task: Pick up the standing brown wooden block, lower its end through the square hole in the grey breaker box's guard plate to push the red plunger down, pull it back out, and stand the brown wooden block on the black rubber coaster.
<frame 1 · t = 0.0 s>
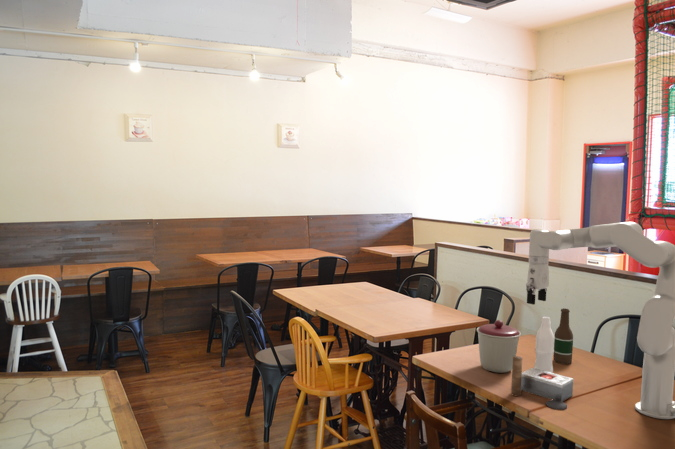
hand: (536, 302, 219), 31 cm above the table, fingers open, 9 cm apart
canister: (496, 369, 231), on the table
coaster: (556, 405, 193), on the table
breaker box: (545, 392, 205), on the table
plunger: (546, 380, 205), point 5 cm above the table, slide at 0.0 cm
water bottle: (542, 378, 221), on the table
beer bottle: (562, 362, 242), on the table
brown wooden block: (515, 394, 203), on the table
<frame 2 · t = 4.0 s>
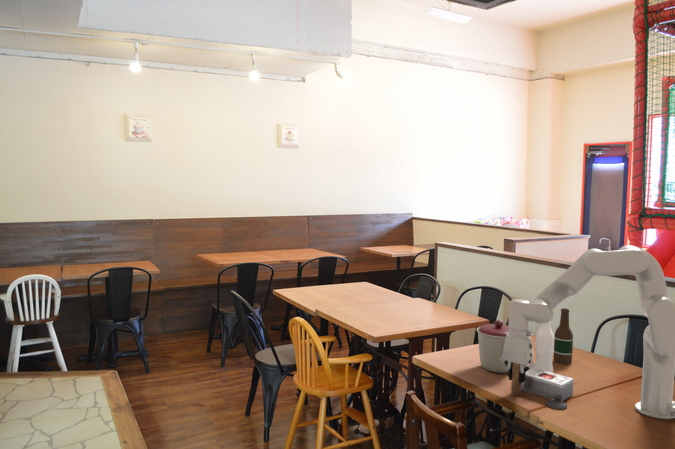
hand: (516, 380, 203), 5 cm above the table, fingers closed on brown wooden block, 3 cm apart
brown wooden block: (515, 394, 203), on the table, touching gripper
everything else where it was.
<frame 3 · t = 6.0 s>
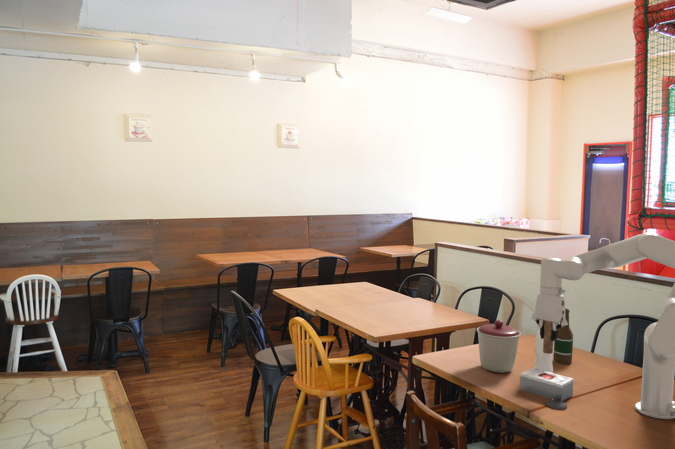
hand: (548, 338, 203), 21 cm above the table, fingers closed on brown wooden block, 3 cm apart
brown wooden block: (547, 352, 204), point 16 cm above the table, touching gripper
everything else where it was.
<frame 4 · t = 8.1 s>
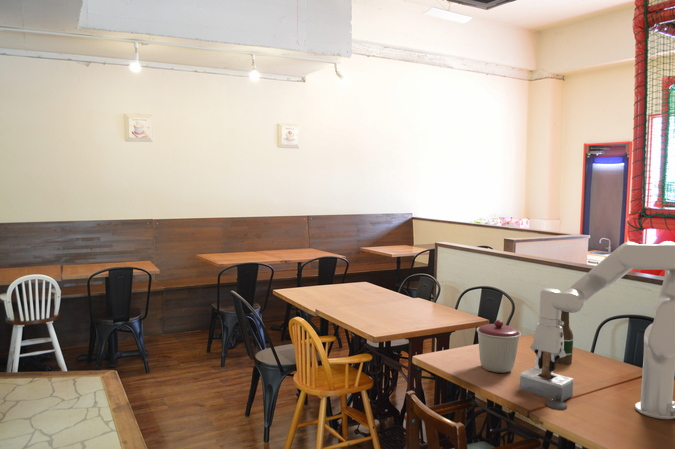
hand: (546, 369, 205), 9 cm above the table, fingers closed on brown wooden block, 3 cm apart
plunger: (546, 385, 205), point 3 cm above the table, slide at 2.1 cm, touching brown wooden block
brown wooden block: (545, 382, 205), point 4 cm above the table, touching gripper, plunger
everything else where it was.
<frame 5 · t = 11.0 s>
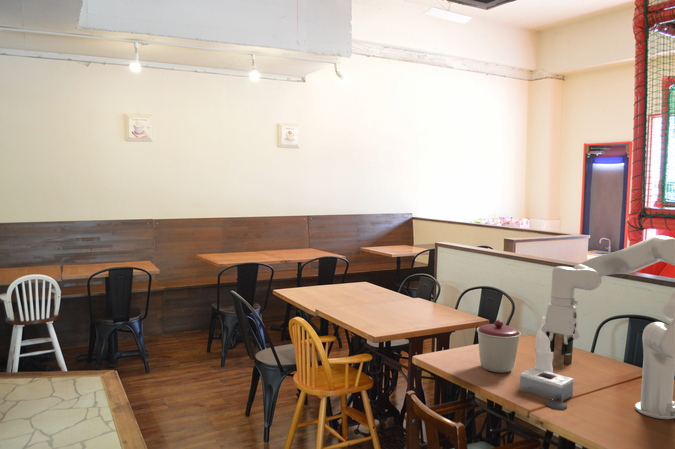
hand: (558, 352, 192), 19 cm above the table, fingers closed on brown wooden block, 3 cm apart
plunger: (546, 385, 205), point 3 cm above the table, slide at 2.1 cm
brown wooden block: (558, 366, 192), point 14 cm above the table, touching gripper
everything else where it was.
when the fingers open (7 cm above the table, at t = 13.8 s): brown wooden block drops 1 cm, resting on coaster.
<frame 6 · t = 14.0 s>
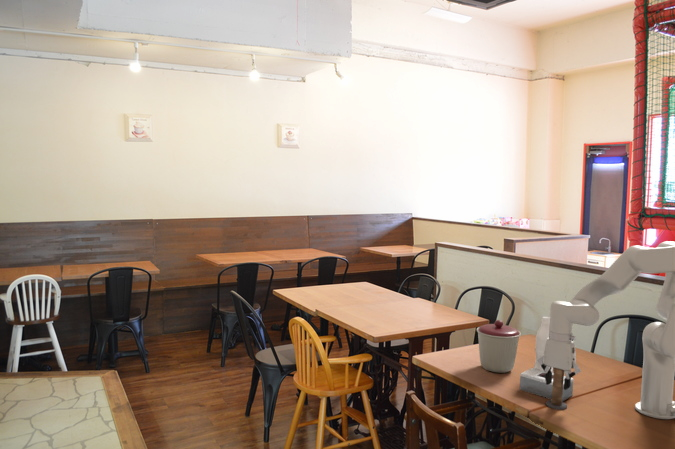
hand: (557, 385, 193), 7 cm above the table, fingers open, 5 cm apart
brown wooden block: (556, 403, 193), point 1 cm above the table, touching coaster
everything else where it was.
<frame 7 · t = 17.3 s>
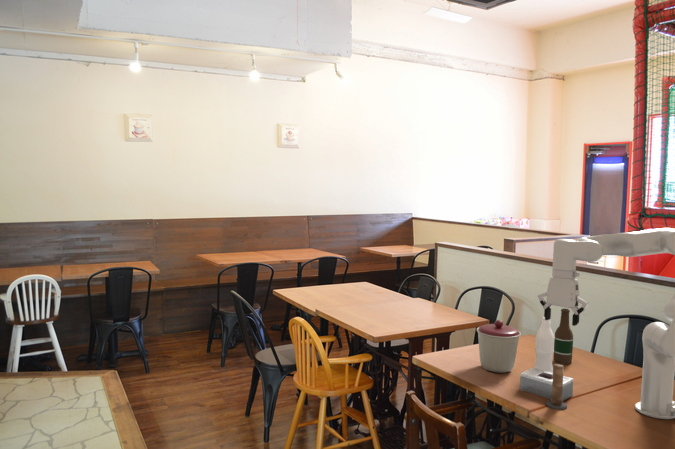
hand: (561, 322, 191), 30 cm above the table, fingers open, 9 cm apart
nothing on the table moved.
at the end: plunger slide at 2.1 cm; brown wooden block 0.0 cm from the coaster (horizontally); the gripper is holding nothing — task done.
